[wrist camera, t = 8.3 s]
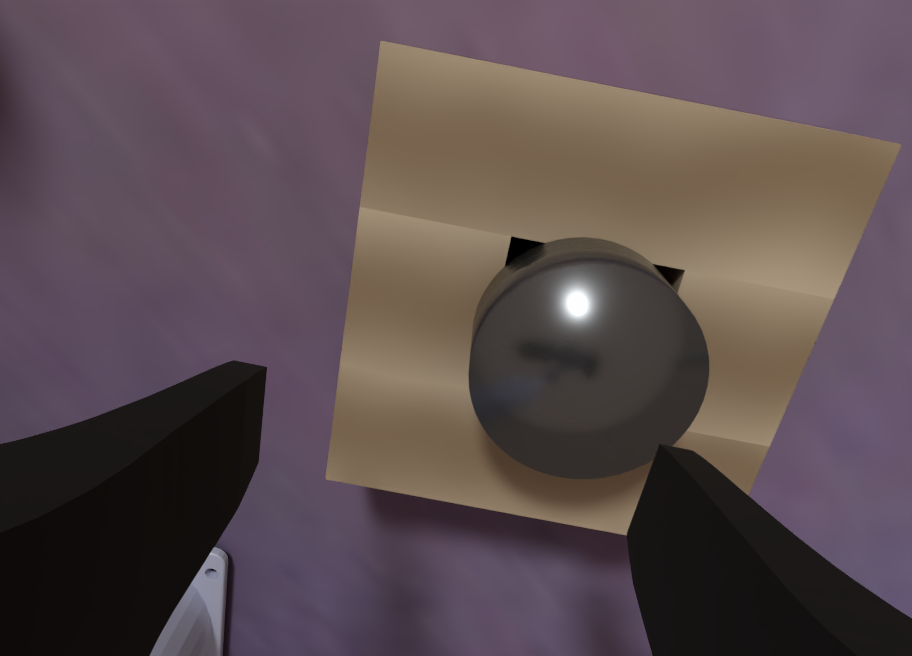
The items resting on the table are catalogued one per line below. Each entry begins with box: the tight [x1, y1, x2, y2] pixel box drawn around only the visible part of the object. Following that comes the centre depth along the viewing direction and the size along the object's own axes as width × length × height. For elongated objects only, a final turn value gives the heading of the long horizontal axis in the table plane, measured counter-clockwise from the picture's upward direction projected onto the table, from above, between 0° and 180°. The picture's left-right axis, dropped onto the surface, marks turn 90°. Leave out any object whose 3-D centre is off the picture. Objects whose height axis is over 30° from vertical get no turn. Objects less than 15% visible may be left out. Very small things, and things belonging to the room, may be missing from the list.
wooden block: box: [326, 41, 902, 535], centre depth 19 cm, size 12×12×4 cm
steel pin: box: [468, 237, 709, 479], centre depth 17 cm, size 5×5×6 cm
